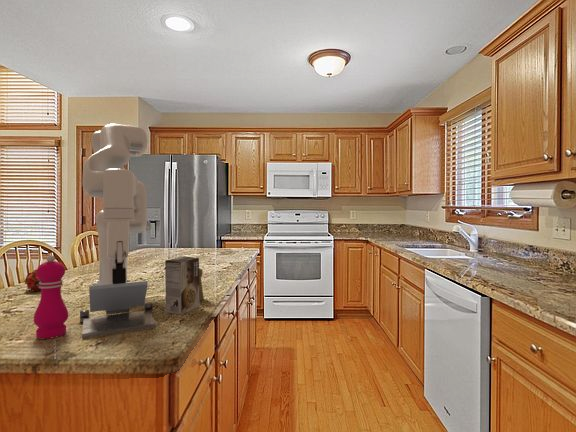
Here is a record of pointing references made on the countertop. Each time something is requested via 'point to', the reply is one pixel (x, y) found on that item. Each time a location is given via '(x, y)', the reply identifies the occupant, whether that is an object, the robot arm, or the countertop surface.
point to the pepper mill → (50, 300)
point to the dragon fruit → (32, 281)
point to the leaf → (117, 297)
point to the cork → (200, 286)
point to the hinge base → (117, 322)
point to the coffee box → (182, 284)
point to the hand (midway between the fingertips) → (119, 283)
